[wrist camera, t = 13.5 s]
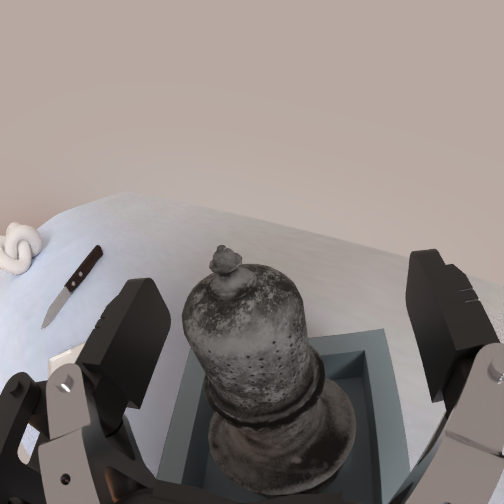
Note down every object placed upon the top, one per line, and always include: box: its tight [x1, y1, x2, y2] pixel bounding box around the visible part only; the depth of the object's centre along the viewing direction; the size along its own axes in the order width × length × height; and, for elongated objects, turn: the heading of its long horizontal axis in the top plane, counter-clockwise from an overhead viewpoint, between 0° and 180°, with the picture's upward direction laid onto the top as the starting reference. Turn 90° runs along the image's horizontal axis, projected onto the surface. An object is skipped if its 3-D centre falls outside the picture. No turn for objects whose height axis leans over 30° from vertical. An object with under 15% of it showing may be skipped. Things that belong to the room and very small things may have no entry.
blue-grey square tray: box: [156, 329, 410, 504], centre depth 13 cm, size 10×10×4 cm
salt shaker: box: [182, 245, 357, 499], centre depth 9 cm, size 6×6×12 cm
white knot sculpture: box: [0, 222, 42, 275], centre depth 50 cm, size 11×12×9 cm
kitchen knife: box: [41, 245, 103, 329], centre depth 41 cm, size 18×1×2 cm, turn 172°
